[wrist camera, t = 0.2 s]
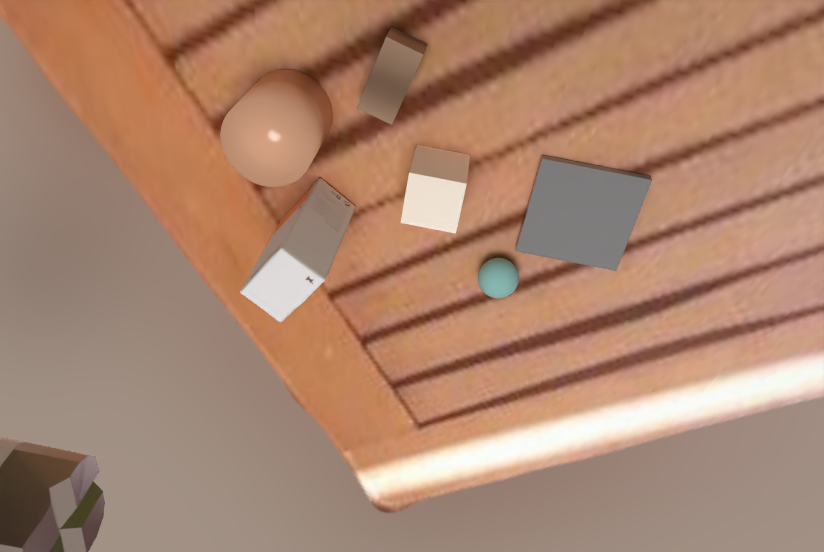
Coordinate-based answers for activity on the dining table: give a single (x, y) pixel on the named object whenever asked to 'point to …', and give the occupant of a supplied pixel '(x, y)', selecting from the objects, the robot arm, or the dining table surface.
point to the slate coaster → (581, 212)
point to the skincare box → (299, 251)
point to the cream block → (435, 188)
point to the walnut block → (391, 75)
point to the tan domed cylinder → (277, 128)
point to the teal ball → (498, 278)
